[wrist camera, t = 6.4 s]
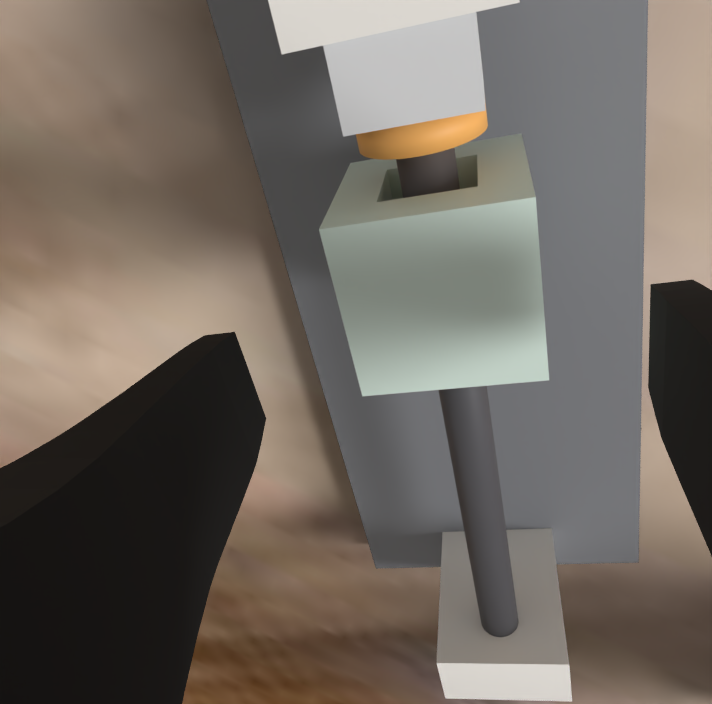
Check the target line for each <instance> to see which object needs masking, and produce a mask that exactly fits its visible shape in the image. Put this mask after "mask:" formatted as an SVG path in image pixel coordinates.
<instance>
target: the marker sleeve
mask: <svg viewBox="0 0 712 704" xmlns="http://www.w3.org/2000/svg"><path fill="white" fill-rule="evenodd" d="M454 148H455V156H456V163H457V170H458V178H459V185H460V189H458V190H452V191H445V192H439V193H433V194H426V195H420V196H414V197H407V198H403V195H402V189H401V184H400V178H399V173H398V167H397V162H396V159H392V160H382V159H370V160H365V161H359V162H353V163H350V165H349V167H348V169H347V171H346V173H345V176H344V178H343V180H342V182H341V184H340V186H339V188H338V190H337V192H336V195H335V197H334V199H333V201H332V203H331V205H330V207H329V209H328V211H327V214H326V216H325V218H324V220H323V222H322V224H321V226H320V228H319V232H320V236H321V240H322V244H323V247H324V251H325V255H326V259H327V263H328V267H329V270H330V274H331V278H332V282H333V286H334V290H335V293H336V297H337V301H338V305H339V309H340V313H341V316H342V320H343V324H344V328H345V332H346V336H347V339H348V343H349V347H350V351H351V355H352V359H353V363H354V366H355V370H356V374H357V378H358V382H359V386H360V389H361V393H362V396H373V395H385V394H396V393H408V392H419V391H431V390H443V389H454V388H466V387H478V386H489V385H501V384H512V383H524V382H536V381H547V380H549V370H548V356H547V343H546V329H545V315H544V302H543V288H542V275H541V261H540V248H539V234H538V220H537V207H536V196H535V191H534V187H533V182H532V178H531V173H530V169H529V165H528V160H527V156H526V151H525V147H524V142H523V138H522V133H521V134H515V135H509V136H503V137H498V138H492V139H486V140H480V141H475V142H469V143H465V144H462V145H460V146H457V147H454Z"/></svg>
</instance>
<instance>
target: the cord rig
mask: <svg viewBox="0 0 712 704" xmlns="http://www.w3.org/2000/svg"><path fill="white" fill-rule="evenodd" d="M207 3H208V6H209V10H210V13H211V16H212V20H213V23H214V26H215V30H216V33H217V37H218V40H219V43H220V47H221V50H222V53H223V57H224V60H225V63H226V67H227V70H228V73H229V77H230V80H231V84H232V87H233V90H234V94H235V97H236V100H237V104H238V107H239V110H240V114H241V117H242V120H243V124H244V127H245V130H246V134H247V137H248V141H249V144H250V147H251V151H252V154H253V157H254V161H255V164H256V167H257V171H258V174H259V177H260V181H261V184H262V188H263V191H264V194H265V198H266V201H267V204H268V208H269V211H270V214H271V218H272V221H273V224H274V228H275V231H276V234H277V238H278V241H279V245H280V248H281V251H282V255H283V258H284V261H285V265H286V268H287V271H288V275H289V278H290V281H291V285H292V288H293V292H294V295H295V298H296V302H297V305H298V308H299V312H300V315H301V318H302V322H303V325H304V328H305V332H306V335H307V338H308V342H309V345H310V349H311V352H312V355H313V359H314V362H315V365H316V369H317V372H318V375H319V379H320V382H321V385H322V389H323V392H324V396H325V399H326V402H327V406H328V409H329V412H330V416H331V419H332V422H333V426H334V429H335V432H336V436H337V439H338V443H339V446H340V449H341V453H342V456H343V459H344V463H345V466H346V469H347V473H348V476H349V479H350V483H351V486H352V489H353V493H354V496H355V500H356V503H357V506H358V510H359V513H360V516H361V520H362V523H363V526H364V530H365V533H366V536H367V540H368V543H369V547H370V550H371V553H372V557H373V560H374V563H375V567H376V568H414V567H441V577H440V598H439V620H438V642H437V667H438V671H439V675H440V679H441V683H442V687H443V690H444V694H445V698H451V699H492V700H532V701H572V694H571V680H570V667H569V658H568V651H567V643H566V635H565V628H564V620H563V612H562V604H561V597H560V589H559V581H558V574H557V566H556V564H592V563H636V562H639V506H640V447H641V387H642V327H643V267H644V207H645V148H646V88H647V28H648V0H207ZM521 133H522V138H523V142H524V147H525V151H526V156H527V160H528V165H529V169H530V173H531V178H532V182H533V187H534V191H535V196H536V207H537V220H538V234H539V248H540V261H541V275H542V288H543V302H544V315H545V329H546V343H547V356H548V370H549V380H547V381H536V382H524V383H512V384H501V385H489V386H478V387H466V388H454V389H443V390H431V391H419V392H408V393H396V394H385V395H373V396H362V393H361V389H360V386H359V382H358V378H357V374H356V370H355V366H354V363H353V359H352V355H351V351H350V347H349V343H348V339H347V336H346V332H345V328H344V324H343V320H342V316H341V313H340V309H339V305H338V301H337V297H336V293H335V290H334V286H333V282H332V278H331V274H330V270H329V267H328V263H327V259H326V255H325V251H324V247H323V244H322V240H321V236H320V232H319V228H320V226H321V224H322V222H323V220H324V218H325V216H326V214H327V211H328V209H329V207H330V205H331V203H332V201H333V199H334V197H335V195H336V192H337V190H338V188H339V186H340V184H341V182H342V180H343V178H344V176H345V173H346V171H347V169H348V167H349V165H350V163H353V162H359V161H365V160H370V159H382V160H392V159H396V162H397V167H398V173H399V178H400V184H401V189H402V195H403V198H407V197H414V196H420V195H426V194H433V193H439V192H445V191H452V190H458V189H460V185H459V178H458V170H457V163H456V156H455V148H454V147H457V146H460V145H462V144H465V143H469V142H475V141H480V140H486V139H492V138H498V137H503V136H509V135H515V134H521Z"/></svg>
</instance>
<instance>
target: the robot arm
mask: <svg viewBox="0 0 712 704" xmlns="http://www.w3.org/2000/svg"><path fill="white" fill-rule="evenodd" d="M648 388H649V392H650V396H651V400H652V404H653V408H654V412H655V416H656V419H657V423H658V426H659V430H660V434H661V437H662V440H663V443H664V445H665V447H666V450H667V452H668V455H669V457H670V459H671V462H672V464H673V467H674V469H675V471H676V474H677V476H678V478H679V481H680V483H681V485H682V488H683V490H684V492H685V495H686V497H687V499H688V502H689V504H690V506H691V509H692V511H693V513H694V516H695V518H696V520H697V523H698V525H699V527H700V530H701V532H702V534H703V537H704V539H705V541H706V544H707V546H708V548H709V551H710V553H711V556H712V290H710V289H708V288H707V287H705V286H703V285H701V284H700V283H698V282H696V281H694V280H686V281H677V282H668V283H660V284H651V297H650V340H649V384H648ZM265 421H266V417H265V414H264V411H263V409H262V406H261V403H260V400H259V398H258V395H257V392H256V389H255V386H254V384H253V381H252V378H251V375H250V373H249V370H248V367H247V364H246V362H245V359H244V356H243V353H242V351H241V348H240V345H239V342H238V340H237V337H236V334H235V332H231V333H222V334H213V335H205V336H203V337H201V338H199V339H198V340H196V341H194V342H193V343H191V344H189V345H188V346H186V347H185V348H183V349H182V350H181V351H179V352H178V353H176V354H175V355H173V356H172V357H171V358H169V359H168V360H167V361H165V362H164V363H162V364H161V365H160V366H158V367H157V368H156V369H154V370H153V371H152V372H150V373H149V374H147V375H146V376H145V377H143V378H142V379H141V380H139V381H138V382H137V383H135V384H134V385H132V386H131V387H130V388H128V389H127V390H126V391H124V392H123V393H122V394H120V395H119V396H117V397H116V398H114V399H113V400H111V401H110V402H108V403H107V404H106V405H104V406H103V407H101V408H100V409H98V410H97V411H95V412H94V413H92V414H91V415H90V416H88V417H87V418H85V419H84V420H82V421H81V422H79V423H78V424H76V425H75V426H73V427H72V428H70V429H69V430H67V431H65V432H64V433H62V434H61V435H59V436H57V437H56V438H54V439H52V440H51V441H49V442H47V443H46V444H44V445H42V446H40V447H39V448H37V449H35V450H33V451H32V452H30V453H28V454H26V455H25V456H23V457H21V458H19V459H17V460H16V461H14V462H12V463H10V464H8V465H6V466H4V467H2V468H0V704H182V701H183V696H184V691H185V687H186V682H187V678H188V674H189V670H190V665H191V661H192V657H193V652H194V648H195V644H196V639H197V635H198V631H199V628H200V624H201V620H202V616H203V612H204V609H205V605H206V601H207V597H208V593H209V590H210V586H211V583H212V580H213V577H214V574H215V571H216V568H217V565H218V563H219V560H220V557H221V555H222V552H223V550H224V547H225V545H226V542H227V539H228V537H229V534H230V532H231V529H232V526H233V524H234V521H235V519H236V516H237V514H238V511H239V508H240V506H241V503H242V501H243V498H244V495H245V493H246V490H247V487H248V485H249V482H250V479H251V477H252V474H253V471H254V468H255V466H256V462H257V458H258V454H259V450H260V446H261V441H262V436H263V431H264V426H265Z"/></svg>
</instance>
